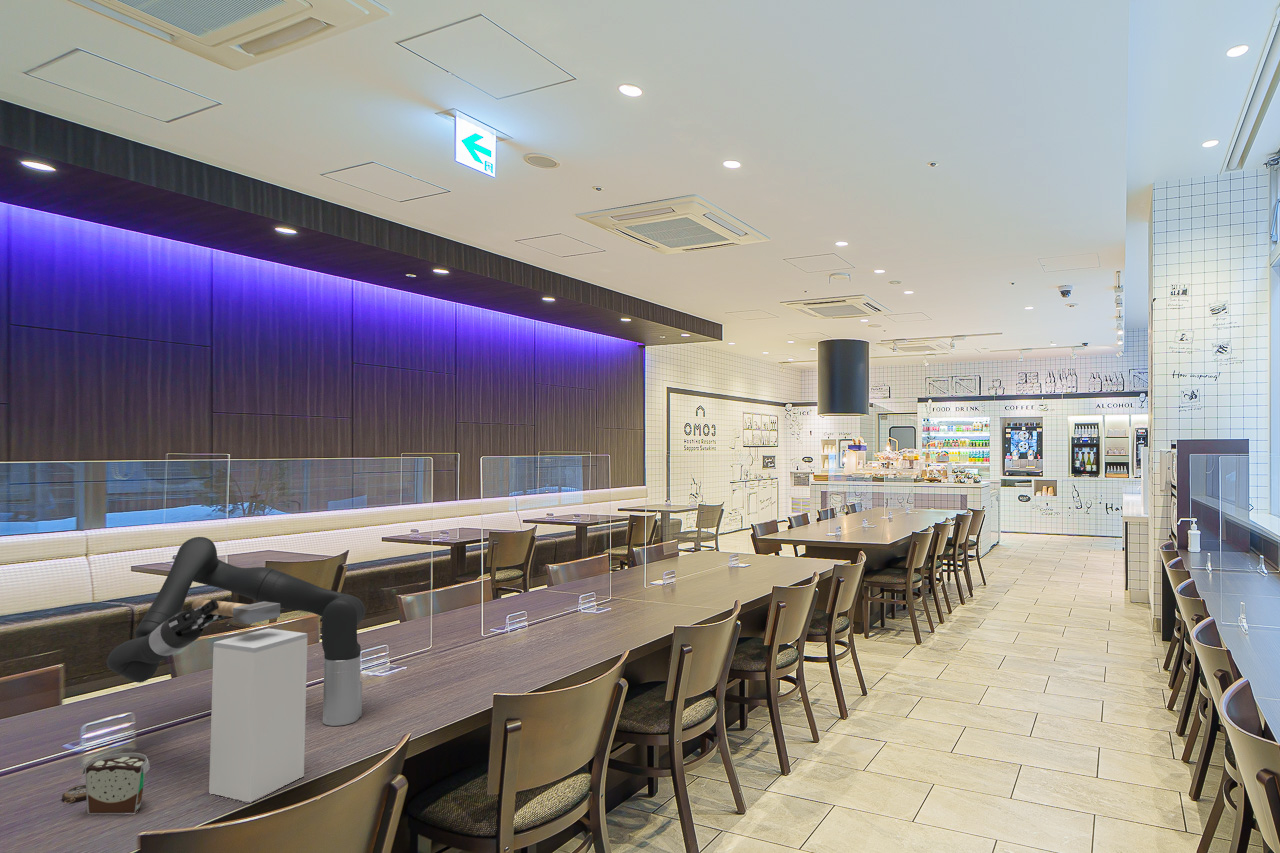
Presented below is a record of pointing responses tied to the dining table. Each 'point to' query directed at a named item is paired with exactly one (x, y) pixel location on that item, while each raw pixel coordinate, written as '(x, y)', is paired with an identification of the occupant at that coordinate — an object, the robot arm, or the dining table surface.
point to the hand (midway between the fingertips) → (222, 602)
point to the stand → (258, 713)
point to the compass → (75, 794)
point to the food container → (115, 783)
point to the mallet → (244, 610)
